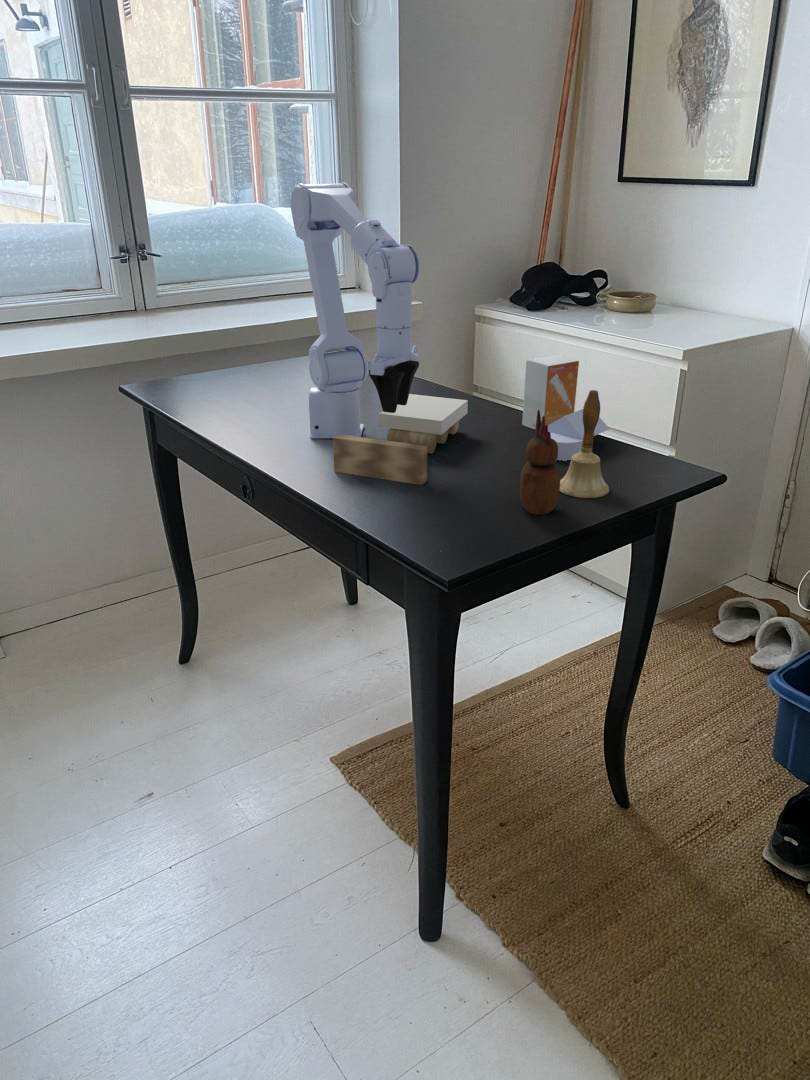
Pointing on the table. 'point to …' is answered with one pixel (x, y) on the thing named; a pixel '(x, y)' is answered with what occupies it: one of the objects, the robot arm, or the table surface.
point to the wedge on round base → (571, 434)
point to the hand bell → (586, 458)
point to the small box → (549, 389)
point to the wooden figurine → (540, 472)
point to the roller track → (420, 437)
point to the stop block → (380, 459)
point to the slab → (425, 414)
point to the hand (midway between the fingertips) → (394, 408)
